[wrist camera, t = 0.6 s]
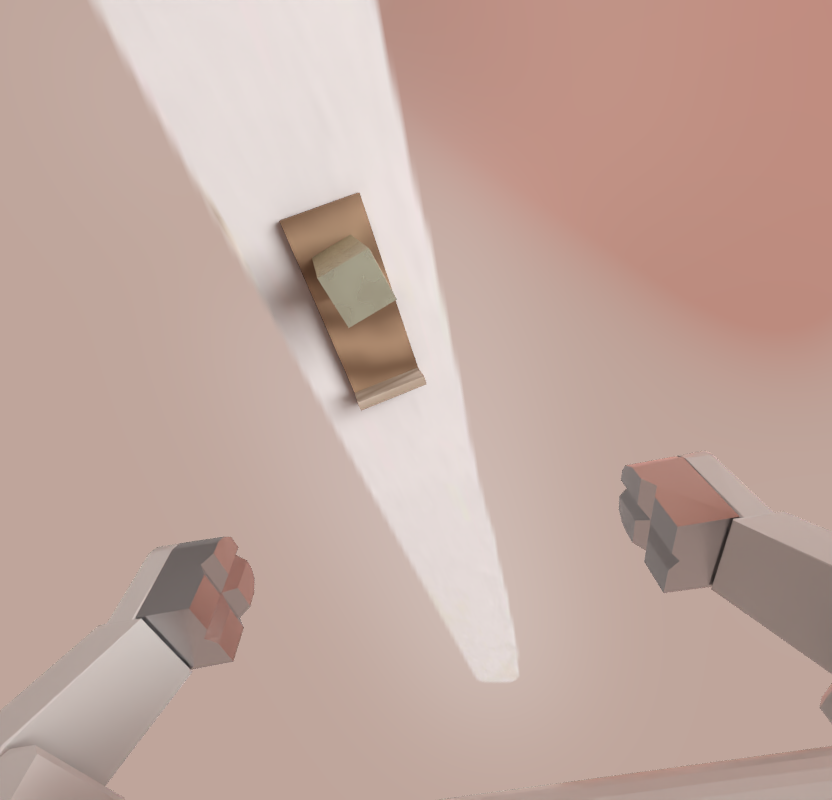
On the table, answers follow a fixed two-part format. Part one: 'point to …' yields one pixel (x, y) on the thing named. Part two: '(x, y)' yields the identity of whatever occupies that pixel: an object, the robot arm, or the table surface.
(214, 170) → the table surface
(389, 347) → the shelf board
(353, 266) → the tea tin
